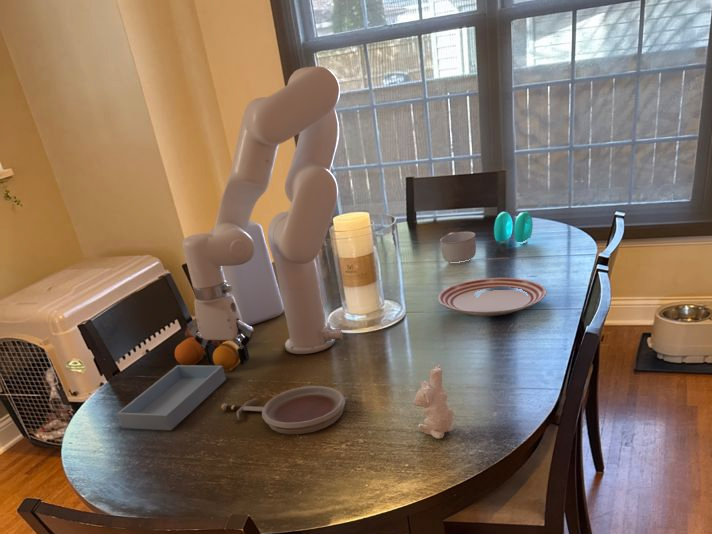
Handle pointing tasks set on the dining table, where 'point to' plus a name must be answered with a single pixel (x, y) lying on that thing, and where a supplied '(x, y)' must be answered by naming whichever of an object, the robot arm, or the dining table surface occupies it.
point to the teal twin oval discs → (505, 227)
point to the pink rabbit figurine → (434, 406)
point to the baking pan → (171, 397)
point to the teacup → (458, 247)
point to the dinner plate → (491, 296)
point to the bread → (214, 342)
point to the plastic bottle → (255, 282)
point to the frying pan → (298, 409)
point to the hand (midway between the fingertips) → (228, 361)
